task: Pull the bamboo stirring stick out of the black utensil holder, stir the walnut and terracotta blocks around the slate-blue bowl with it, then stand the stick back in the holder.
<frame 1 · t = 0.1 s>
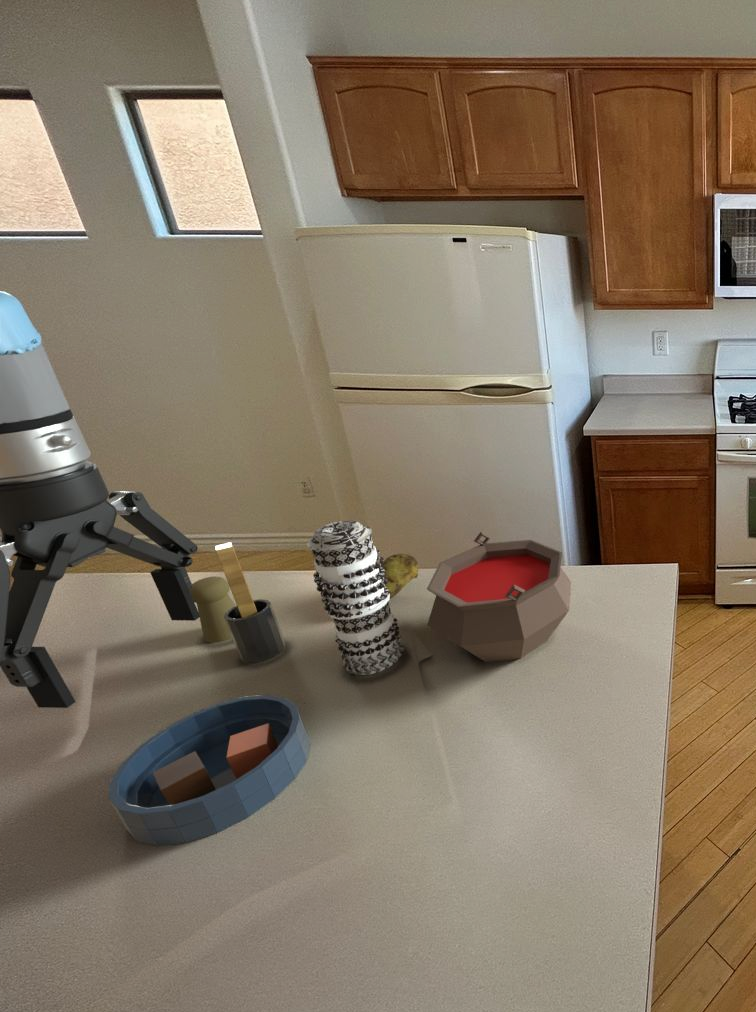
hand: (128, 657, 58), 22 cm above the counter, tool pointing down, fingers open, 13 cm apart
brown cooking pot: (509, 636, 98), on the counter
yellow green pear: (389, 599, 108), on the counter
cork: (227, 635, 97), on the counter
terracotta block: (258, 762, 72), point 1 cm above the counter, touching bowl
decorative candle: (377, 663, 91), on the counter
stirring stick: (263, 651, 92), point 1 cm above the counter, touching holder
holder: (264, 654, 92), on the counter
bowl: (227, 781, 70), on the counter
walnut block: (190, 793, 68), point 1 cm above the counter, touching bowl
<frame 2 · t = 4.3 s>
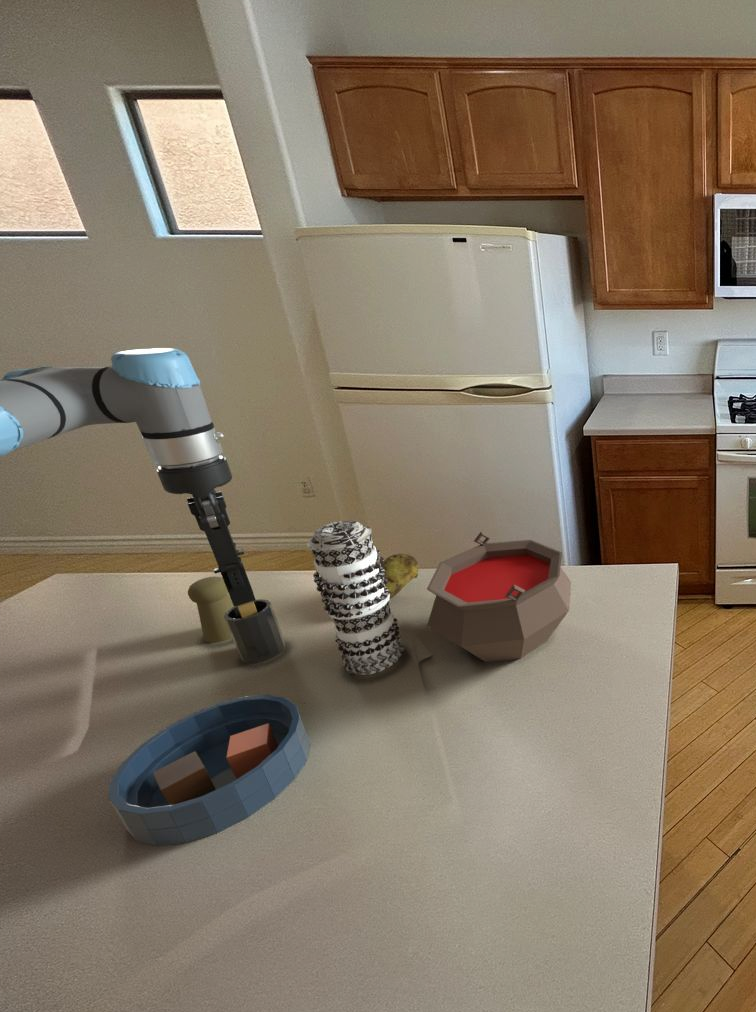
hand: (243, 598, 88), 11 cm above the counter, tool pointing down, fingers closed on stirring stick, 2 cm apart
stirring stick: (263, 651, 92), point 1 cm above the counter, touching gripper
everything else where it was.
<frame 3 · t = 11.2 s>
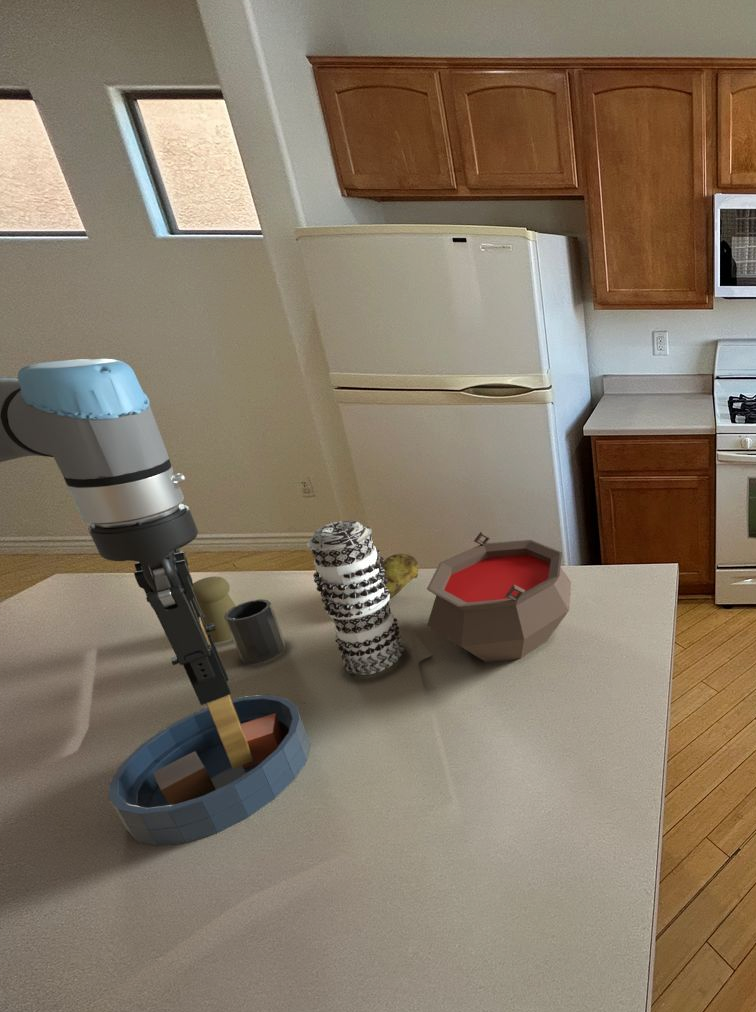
hand: (214, 690, 66), 14 cm above the counter, tool pointing down, fingers closed on stirring stick, 2 cm apart
terracotta block: (264, 751, 73), point 1 cm above the counter, touching bowl, stirring stick
stirring stick: (242, 761, 69), point 3 cm above the counter, touching gripper, terracotta block
everything else where it was.
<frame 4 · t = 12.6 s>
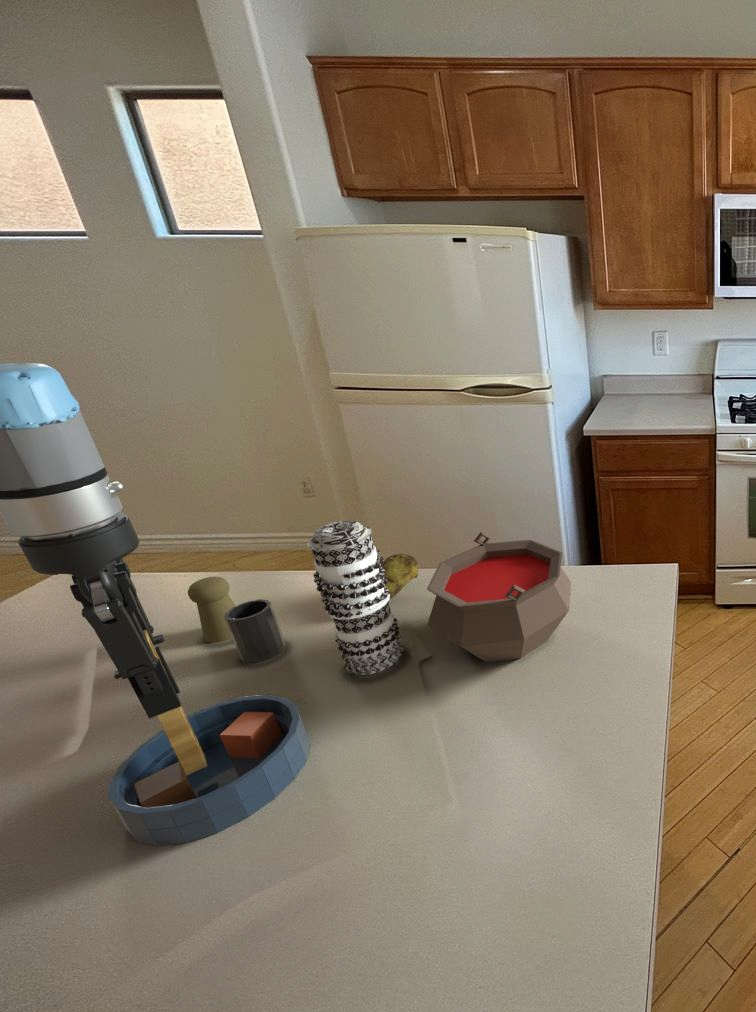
hand: (164, 703, 64), 14 cm above the counter, tool pointing down, fingers closed on stirring stick, 2 cm apart
terracotta block: (256, 745, 74), point 1 cm above the counter, touching bowl
stirring stick: (195, 766, 69), point 3 cm above the counter, touching gripper, walnut block
walnut block: (172, 805, 66), point 1 cm above the counter, touching bowl, stirring stick
everything else where it was.
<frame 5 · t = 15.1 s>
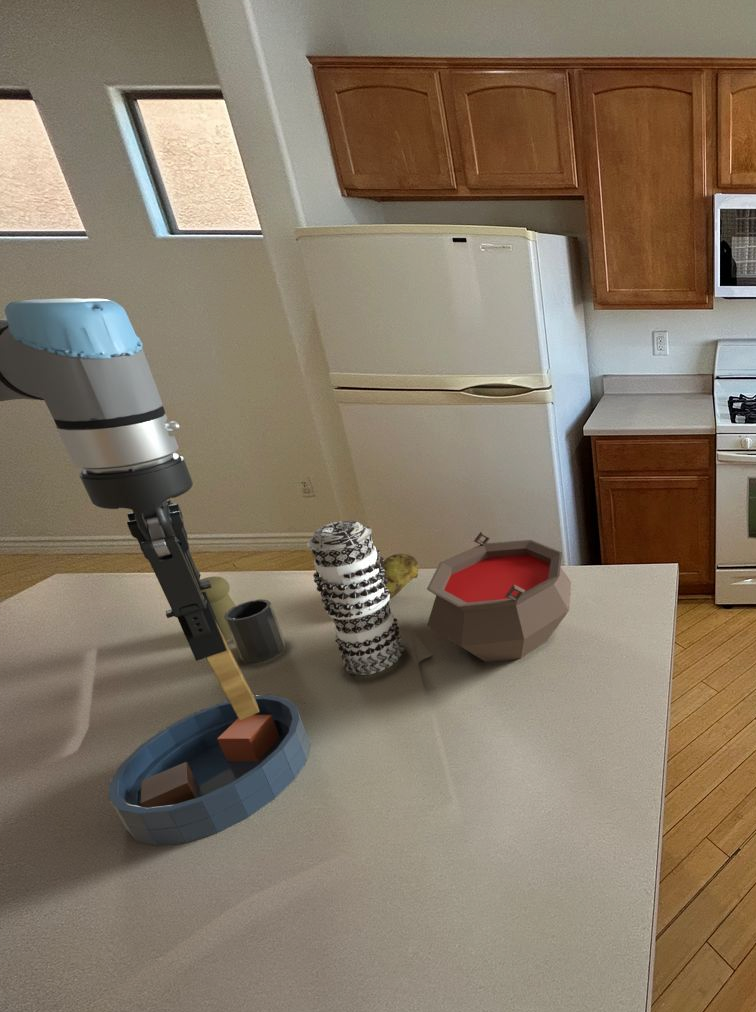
hand: (210, 648, 65), 19 cm above the counter, tool pointing down, fingers closed on stirring stick, 2 cm apart
stirring stick: (248, 712, 70), point 9 cm above the counter, touching gripper
walnut block: (176, 805, 66), point 1 cm above the counter, touching bowl
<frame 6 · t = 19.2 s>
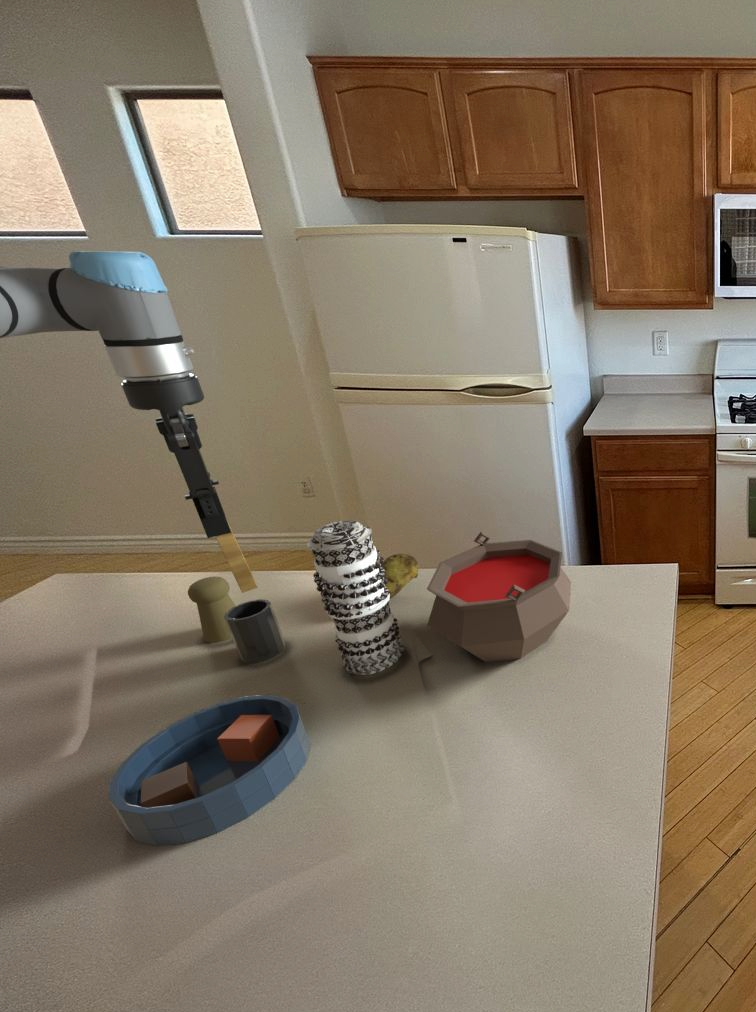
hand: (218, 531, 83), 23 cm above the counter, tool pointing down, fingers closed on stirring stick, 2 cm apart
stirring stick: (249, 587, 88), point 13 cm above the counter, touching gripper
everything else where it was.
when the fingers open (11 cm above the counter, at t = 22.1 s): stirring stick stays where it is, resting on holder.
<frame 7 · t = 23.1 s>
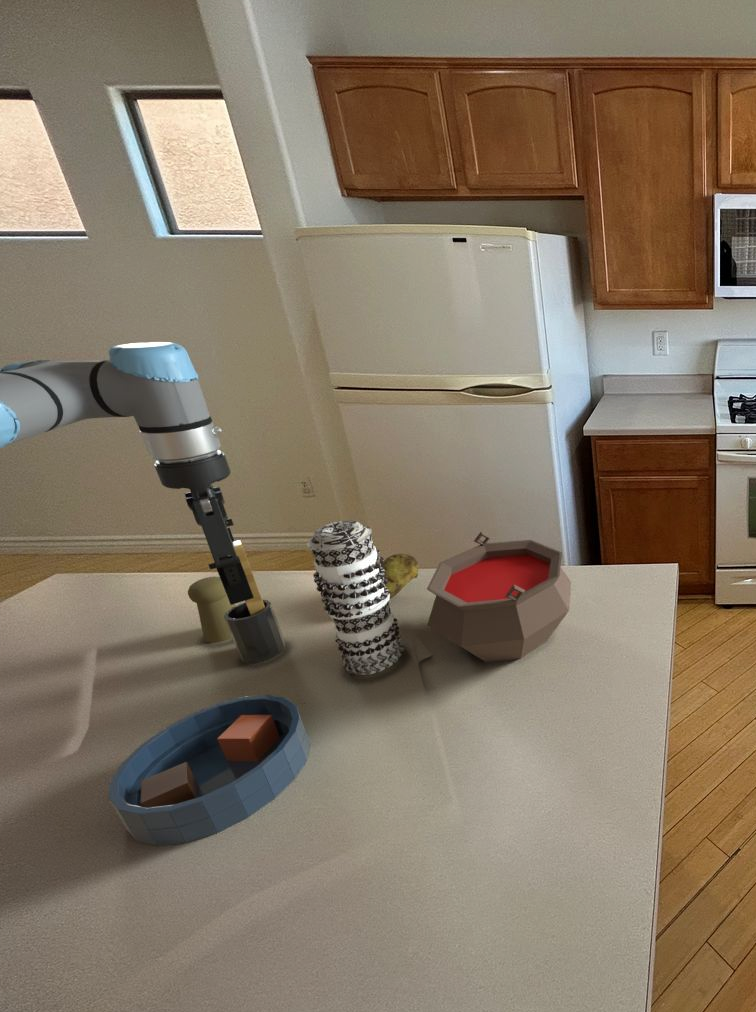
hand: (237, 582, 87), 14 cm above the counter, tool pointing down, fingers open, 13 cm apart
stirring stick: (271, 648, 93), point 1 cm above the counter, touching holder
everything else where it was.
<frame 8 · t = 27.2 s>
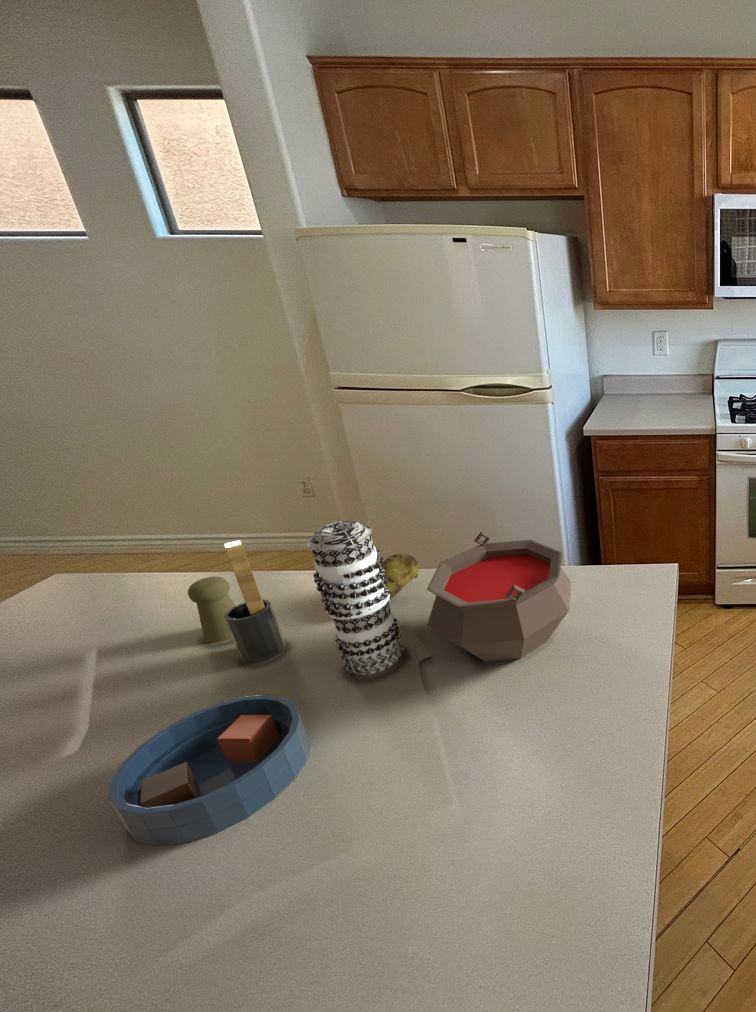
nothing on the counter moved.
at the end: walnut block moved 1.6 cm from its start; walnut block inside the target area in the bowl (4.7 cm from its centre), point 0.8 cm above the bowl's base; stirring stick 1.1 cm off-centre in the holder, point 0.6 cm above the holder's base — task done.
